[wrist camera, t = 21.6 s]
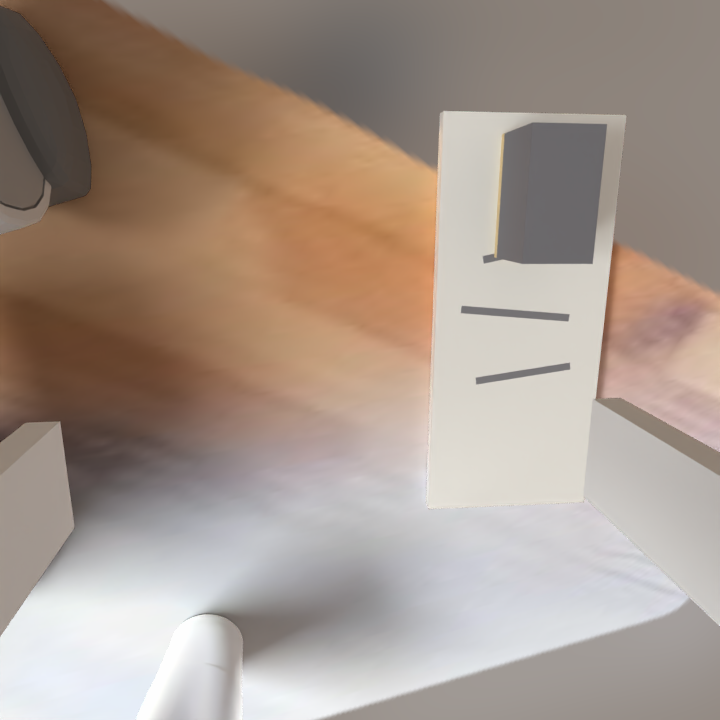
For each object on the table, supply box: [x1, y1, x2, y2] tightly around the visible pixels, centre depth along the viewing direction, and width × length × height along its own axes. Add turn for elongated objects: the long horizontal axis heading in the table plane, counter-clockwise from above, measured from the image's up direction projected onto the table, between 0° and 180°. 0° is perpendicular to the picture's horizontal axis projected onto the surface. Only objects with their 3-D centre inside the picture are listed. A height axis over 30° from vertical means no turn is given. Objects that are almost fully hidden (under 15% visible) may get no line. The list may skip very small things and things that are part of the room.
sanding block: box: [494, 122, 607, 264], centre depth 41 cm, size 5×9×6 cm, turn 0°
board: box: [426, 111, 627, 509], centre depth 47 cm, size 14×32×1 cm, turn 0°
